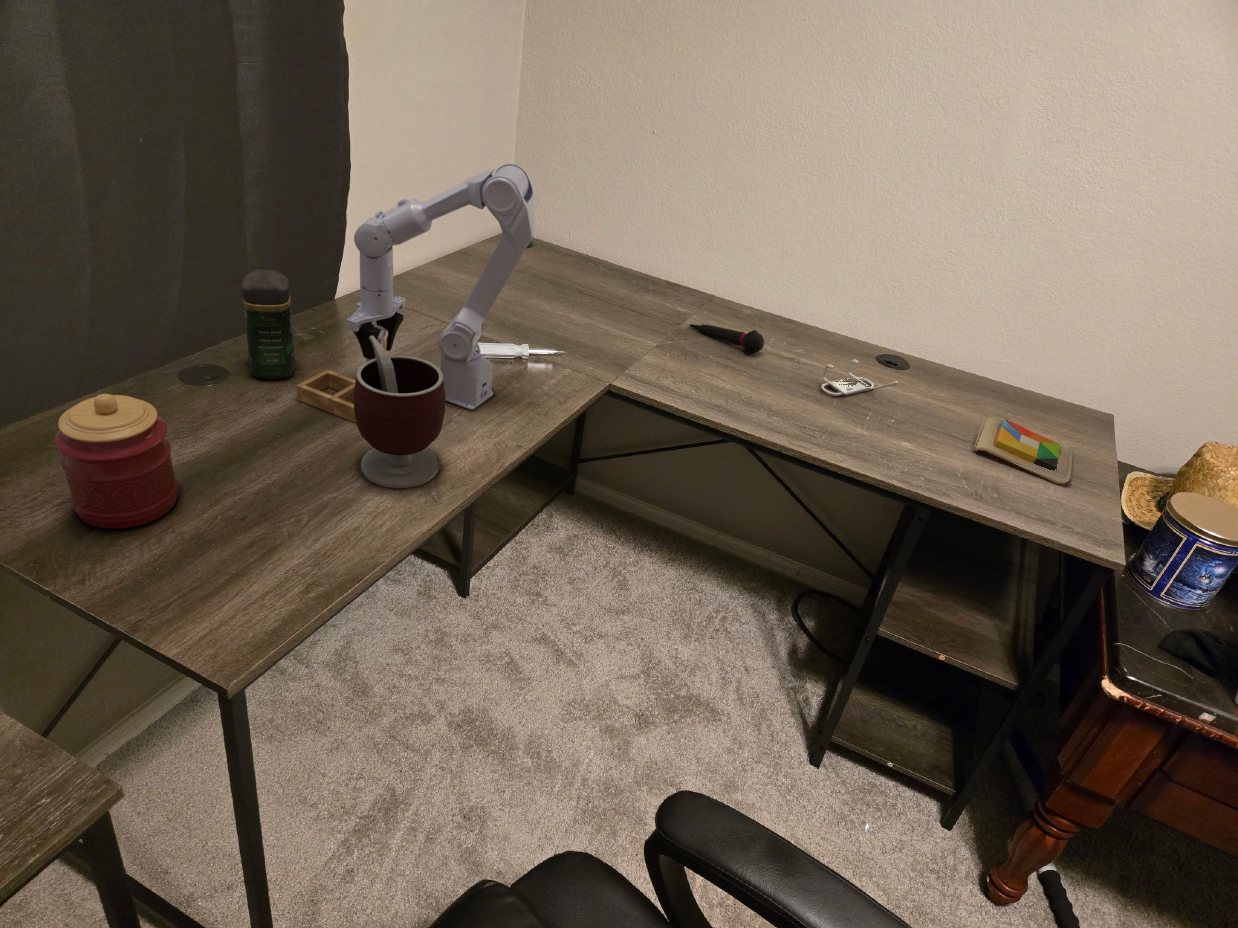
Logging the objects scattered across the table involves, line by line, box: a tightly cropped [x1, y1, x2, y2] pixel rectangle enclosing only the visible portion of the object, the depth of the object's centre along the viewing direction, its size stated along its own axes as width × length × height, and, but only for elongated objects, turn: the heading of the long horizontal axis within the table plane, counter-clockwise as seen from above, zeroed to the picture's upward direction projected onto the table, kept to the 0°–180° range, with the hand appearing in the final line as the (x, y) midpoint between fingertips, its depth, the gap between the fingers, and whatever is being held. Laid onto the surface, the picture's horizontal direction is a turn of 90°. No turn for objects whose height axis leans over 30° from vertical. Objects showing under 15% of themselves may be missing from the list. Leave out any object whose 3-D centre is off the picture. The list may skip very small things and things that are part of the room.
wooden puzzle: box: [973, 416, 1075, 485], centre depth 169 cm, size 18×19×4 cm
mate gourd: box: [353, 336, 447, 489], centre depth 126 cm, size 16×14×20 cm
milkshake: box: [365, 324, 388, 362], centre depth 149 cm, size 4×5×10 cm
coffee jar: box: [241, 269, 296, 380], centre depth 145 cm, size 10×8×19 cm
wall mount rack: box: [820, 359, 899, 397], centre depth 180 cm, size 16×14×6 cm
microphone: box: [689, 323, 765, 355], centre depth 193 cm, size 6×6×20 cm
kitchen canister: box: [54, 393, 179, 529], centre depth 109 cm, size 13×13×18 cm
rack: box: [296, 369, 357, 424], centre depth 143 cm, size 15×8×3 cm, turn 67°
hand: (377, 353), depth 150 cm, fingers closed on milkshake, 4 cm apart
